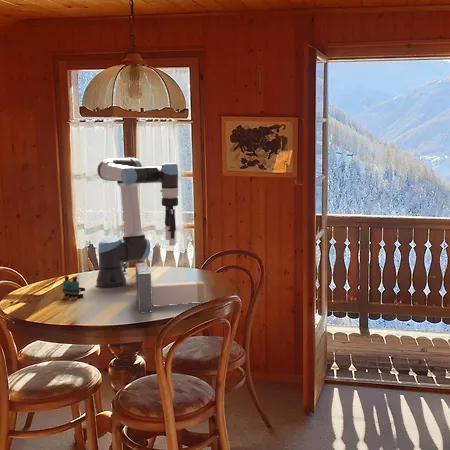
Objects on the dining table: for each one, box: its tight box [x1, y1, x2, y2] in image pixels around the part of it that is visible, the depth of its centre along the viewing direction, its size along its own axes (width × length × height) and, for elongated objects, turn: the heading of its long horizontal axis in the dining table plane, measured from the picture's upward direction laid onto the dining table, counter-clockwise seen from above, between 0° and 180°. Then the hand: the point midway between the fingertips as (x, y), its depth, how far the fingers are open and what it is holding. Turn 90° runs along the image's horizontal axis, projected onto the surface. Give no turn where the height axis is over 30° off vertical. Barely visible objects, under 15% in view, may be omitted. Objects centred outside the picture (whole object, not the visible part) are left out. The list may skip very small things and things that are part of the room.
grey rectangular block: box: [151, 280, 205, 307], centre depth 281 cm, size 23×5×9 cm, turn 101°
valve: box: [122, 262, 128, 273], centre depth 348 cm, size 7×7×12 cm
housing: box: [135, 262, 153, 314], centre depth 277 cm, size 5×24×17 cm, turn 11°
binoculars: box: [62, 275, 86, 301], centre depth 295 cm, size 9×11×10 cm
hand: (170, 242), depth 290 cm, fingers open, 13 cm apart
